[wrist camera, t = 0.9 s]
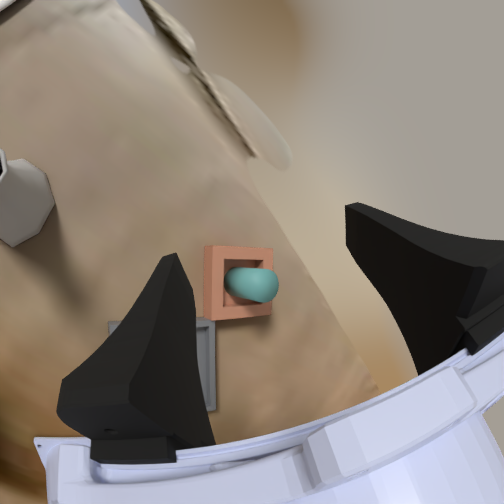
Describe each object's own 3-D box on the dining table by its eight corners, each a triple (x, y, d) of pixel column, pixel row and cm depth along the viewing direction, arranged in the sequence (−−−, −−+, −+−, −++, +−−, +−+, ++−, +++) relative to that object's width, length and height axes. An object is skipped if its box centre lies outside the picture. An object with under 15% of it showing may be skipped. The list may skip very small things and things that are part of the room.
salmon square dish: (261, 311, 32) (271, 314, 30) (203, 317, 28) (211, 320, 26) (262, 248, 32) (273, 248, 30) (204, 245, 28) (212, 245, 26)
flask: (68, 204, 20) (61, 173, 12) (13, 262, 17) (-26, 267, 9) (27, 146, 18) (8, 89, 9) (-28, 201, 15) (-76, 172, 6)
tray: (209, 403, 28) (216, 409, 26) (119, 417, 22) (122, 425, 21) (208, 316, 28) (215, 319, 27) (108, 321, 22) (109, 325, 21)
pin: (248, 295, 30) (278, 301, 26) (223, 296, 29) (250, 303, 24) (248, 267, 30) (279, 268, 26) (223, 266, 29) (251, 268, 24)
